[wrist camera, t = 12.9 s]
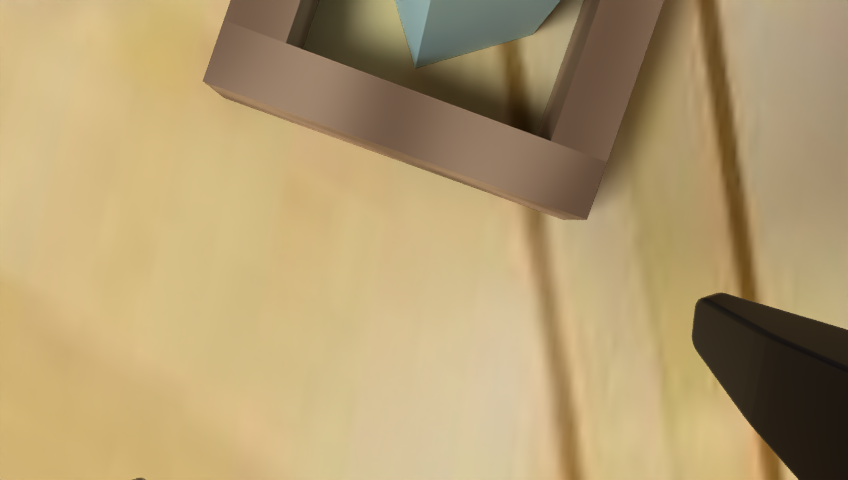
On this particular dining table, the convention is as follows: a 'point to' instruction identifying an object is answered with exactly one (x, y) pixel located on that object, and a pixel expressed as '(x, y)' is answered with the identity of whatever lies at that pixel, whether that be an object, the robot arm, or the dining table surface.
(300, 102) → the socket collar
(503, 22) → the peg
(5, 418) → the dining table surface
